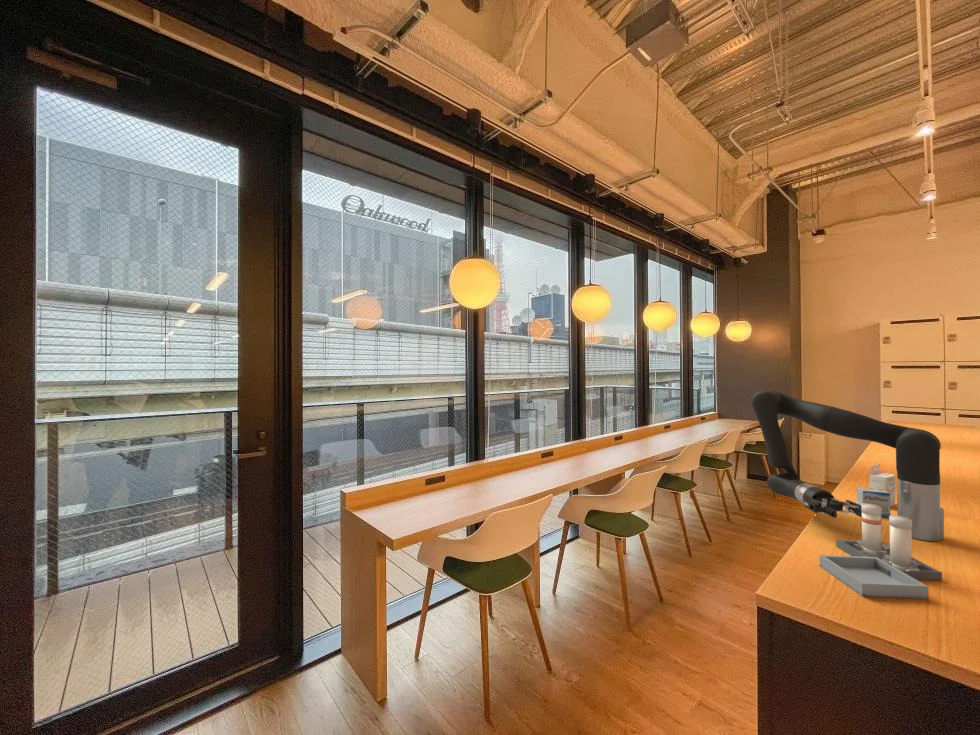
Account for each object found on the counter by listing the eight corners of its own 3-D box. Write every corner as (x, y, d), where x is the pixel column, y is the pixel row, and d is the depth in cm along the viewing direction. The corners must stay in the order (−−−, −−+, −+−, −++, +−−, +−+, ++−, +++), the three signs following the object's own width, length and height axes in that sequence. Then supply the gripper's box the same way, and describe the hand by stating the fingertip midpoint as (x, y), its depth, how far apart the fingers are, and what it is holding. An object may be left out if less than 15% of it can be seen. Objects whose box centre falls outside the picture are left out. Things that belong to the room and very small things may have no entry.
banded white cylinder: (873, 551, 115) (873, 503, 115) (886, 558, 111) (885, 508, 111) (857, 550, 116) (857, 503, 115) (869, 558, 112) (869, 508, 111)
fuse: (902, 567, 106) (901, 515, 106) (917, 575, 102) (917, 521, 102) (884, 566, 107) (884, 515, 107) (898, 575, 103) (898, 521, 102)
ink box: (886, 509, 148) (886, 469, 148) (869, 504, 152) (869, 466, 152) (896, 504, 152) (896, 466, 152) (878, 501, 156) (878, 463, 156)
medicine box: (862, 514, 143) (862, 490, 143) (856, 510, 147) (856, 487, 147) (891, 517, 140) (890, 493, 140) (884, 513, 144) (884, 489, 144)
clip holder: (881, 548, 117) (881, 539, 117) (941, 580, 100) (942, 570, 100) (836, 546, 119) (836, 538, 118) (888, 578, 101) (888, 568, 101)
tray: (876, 568, 106) (876, 557, 106) (928, 599, 92) (928, 586, 92) (819, 566, 108) (819, 555, 107) (862, 596, 94) (862, 583, 94)
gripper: (791, 485, 137) (825, 502, 121) (836, 486, 136) (876, 503, 120) (791, 507, 137) (825, 526, 121) (836, 508, 136) (876, 528, 120)
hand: (851, 515), depth 121 cm, fingers open, 8 cm apart
